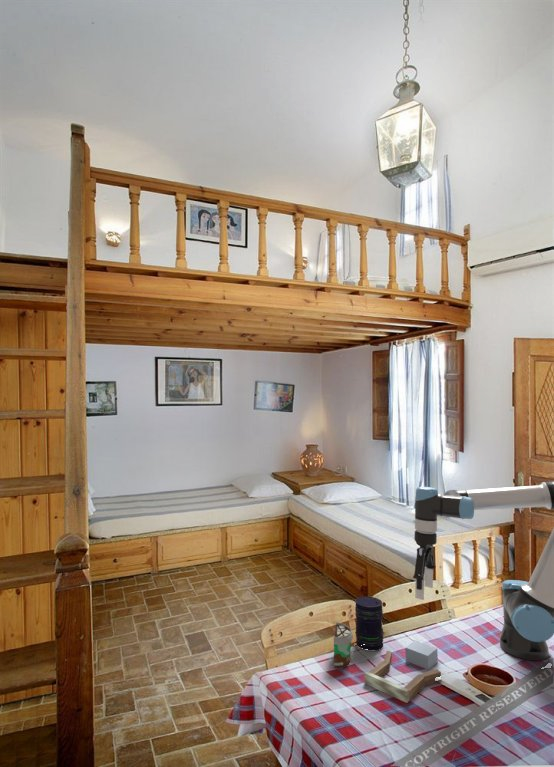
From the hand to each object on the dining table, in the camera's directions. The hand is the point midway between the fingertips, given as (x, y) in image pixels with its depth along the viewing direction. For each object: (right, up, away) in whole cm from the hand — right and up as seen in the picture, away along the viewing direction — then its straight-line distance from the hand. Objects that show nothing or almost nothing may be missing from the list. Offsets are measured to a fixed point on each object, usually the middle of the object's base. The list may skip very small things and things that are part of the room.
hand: (424, 592), depth 154 cm
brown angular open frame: (-14, -19, -18) cm, 29 cm away
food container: (-29, -20, -7) cm, 36 cm away
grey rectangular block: (-3, -20, -7) cm, 21 cm away
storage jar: (-18, -21, +4) cm, 28 cm away
